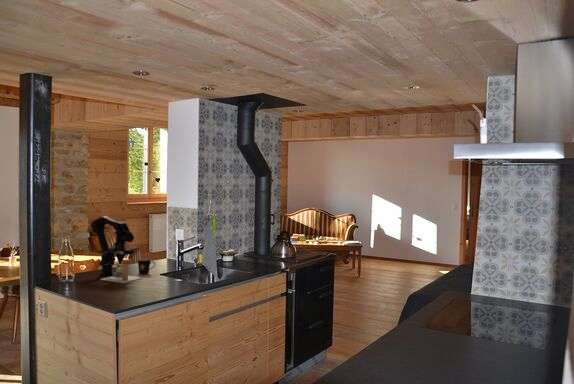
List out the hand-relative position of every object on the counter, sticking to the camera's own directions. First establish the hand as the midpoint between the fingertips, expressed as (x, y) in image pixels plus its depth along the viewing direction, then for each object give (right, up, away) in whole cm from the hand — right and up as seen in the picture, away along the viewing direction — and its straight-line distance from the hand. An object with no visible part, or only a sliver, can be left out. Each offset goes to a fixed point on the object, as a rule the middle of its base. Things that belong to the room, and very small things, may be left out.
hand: (119, 263), depth 316 cm
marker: (+8, -9, -13) cm, 18 cm away
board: (+3, -9, -7) cm, 12 cm away
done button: (0, -7, 0) cm, 7 cm away
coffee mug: (+14, -9, +12) cm, 21 cm away
